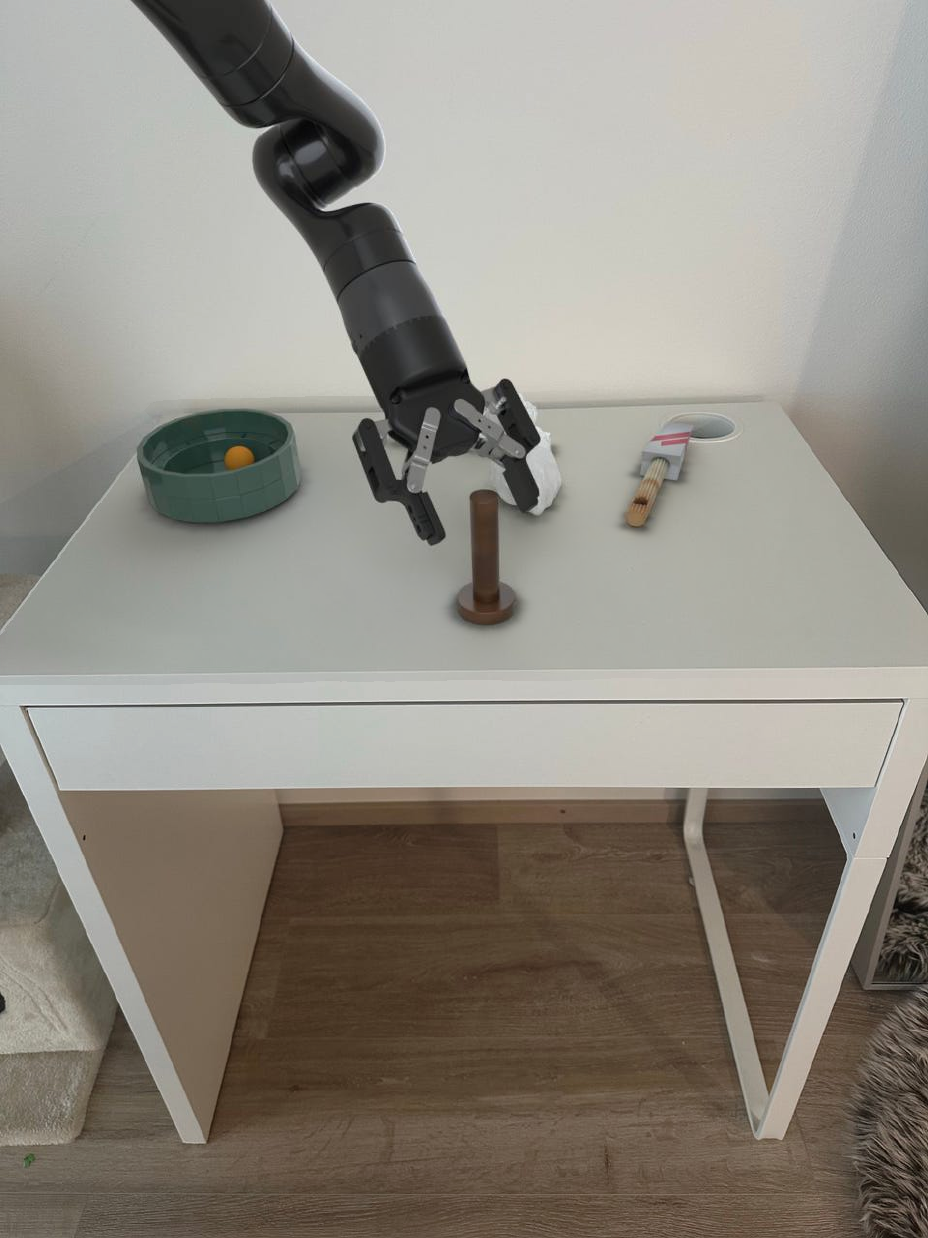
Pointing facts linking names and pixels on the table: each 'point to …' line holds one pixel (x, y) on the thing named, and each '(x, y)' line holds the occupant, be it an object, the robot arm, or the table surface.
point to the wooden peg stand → (485, 566)
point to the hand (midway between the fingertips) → (485, 524)
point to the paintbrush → (659, 467)
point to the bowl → (218, 465)
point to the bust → (531, 467)
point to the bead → (238, 458)
